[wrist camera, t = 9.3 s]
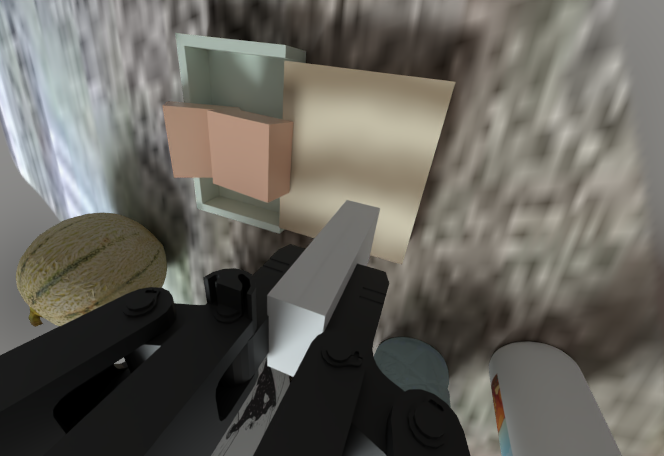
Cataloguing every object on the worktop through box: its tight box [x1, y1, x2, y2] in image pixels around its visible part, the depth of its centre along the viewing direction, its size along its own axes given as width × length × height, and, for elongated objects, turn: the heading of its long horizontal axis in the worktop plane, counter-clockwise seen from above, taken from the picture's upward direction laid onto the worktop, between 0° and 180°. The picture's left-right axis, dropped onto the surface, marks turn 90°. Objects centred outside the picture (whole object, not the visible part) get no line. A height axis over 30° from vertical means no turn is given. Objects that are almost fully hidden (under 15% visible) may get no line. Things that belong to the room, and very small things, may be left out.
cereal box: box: [211, 356, 290, 456], centre depth 32 cm, size 22×8×25 cm, turn 1°
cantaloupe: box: [16, 213, 167, 327], centre depth 36 cm, size 15×15×15 cm
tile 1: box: [207, 109, 293, 203], centre depth 23 cm, size 6×6×3 cm
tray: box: [175, 33, 306, 234], centre depth 27 cm, size 16×10×4 cm, turn 173°
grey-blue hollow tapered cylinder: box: [374, 337, 451, 407], centre depth 29 cm, size 10×10×12 cm
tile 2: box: [163, 101, 240, 178], centre depth 26 cm, size 6×6×3 cm
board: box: [279, 61, 455, 264], centre depth 24 cm, size 14×12×4 cm
